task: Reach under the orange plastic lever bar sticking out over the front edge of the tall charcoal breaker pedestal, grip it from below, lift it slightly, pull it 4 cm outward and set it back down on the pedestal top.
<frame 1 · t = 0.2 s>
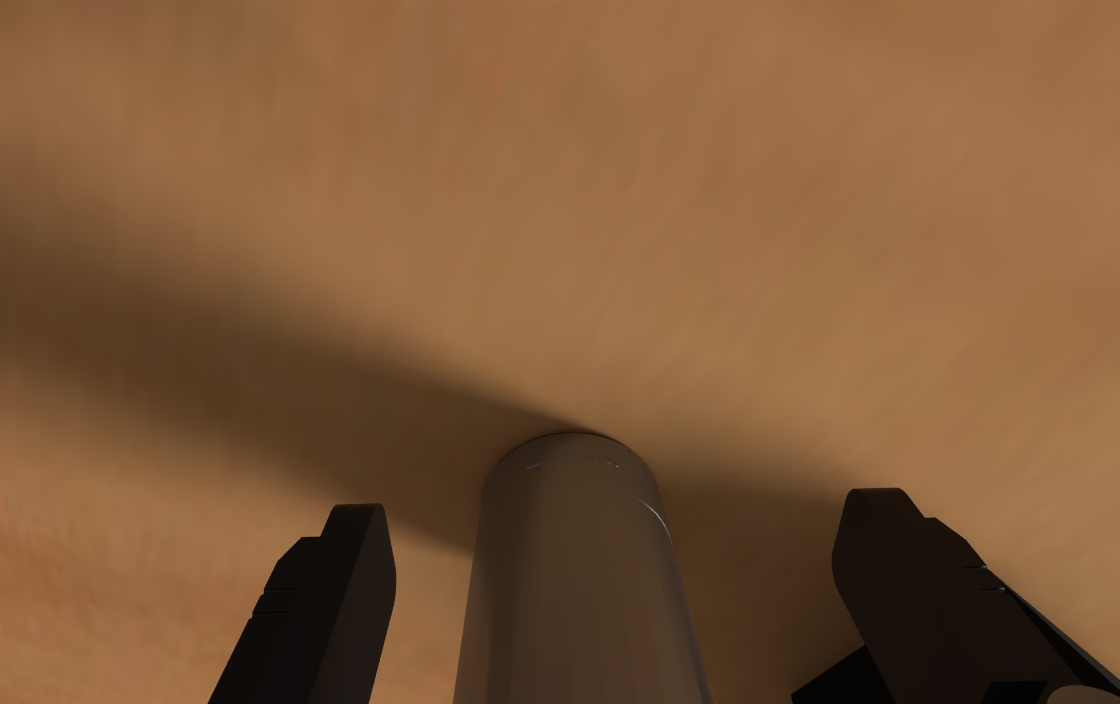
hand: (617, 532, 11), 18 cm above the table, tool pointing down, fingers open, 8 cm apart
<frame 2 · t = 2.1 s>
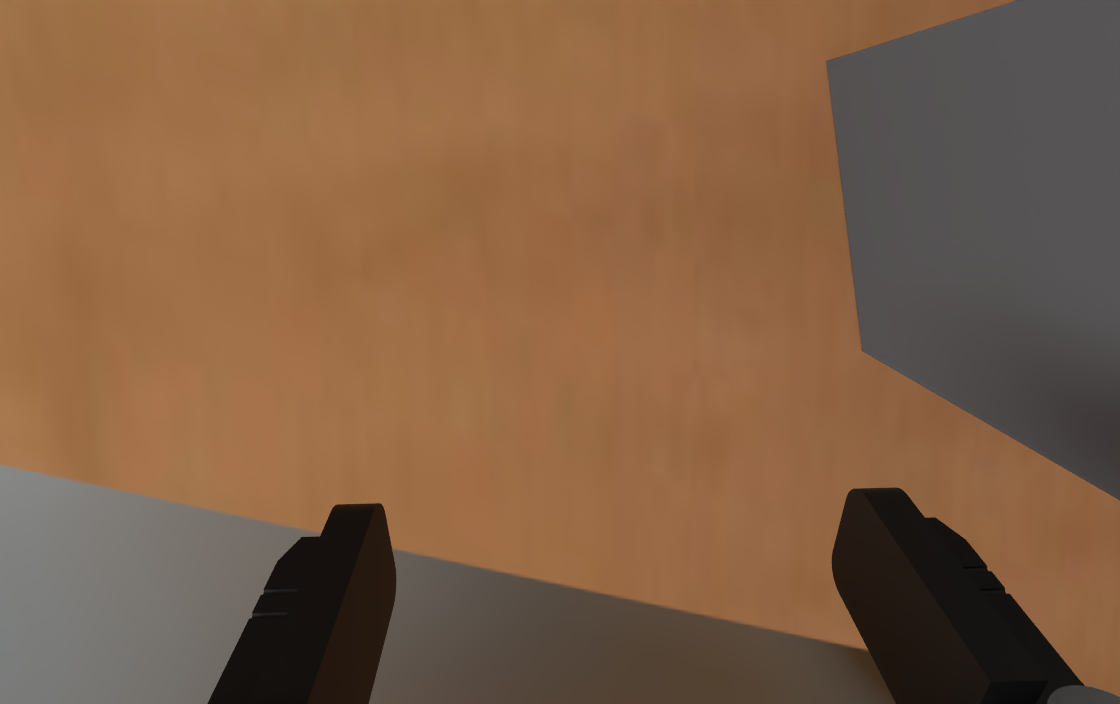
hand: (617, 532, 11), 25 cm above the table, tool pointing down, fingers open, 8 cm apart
breaker pedestal: (990, 176, 34), on the table
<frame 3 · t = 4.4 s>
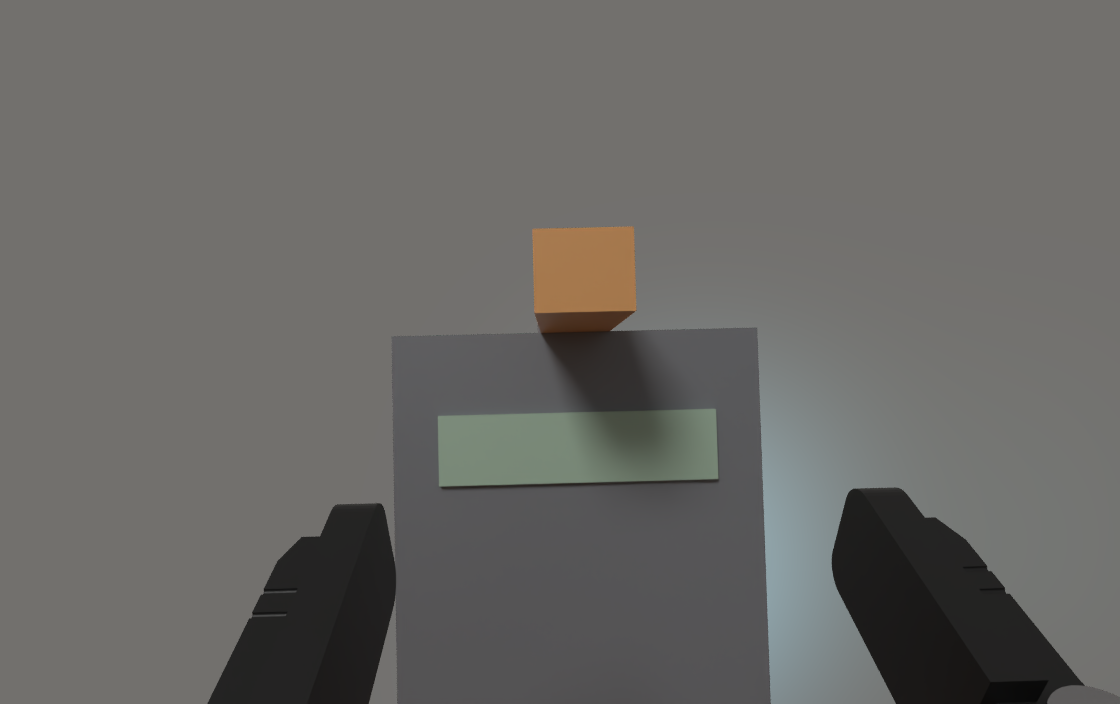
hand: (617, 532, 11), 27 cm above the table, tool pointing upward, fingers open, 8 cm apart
lever bar: (571, 339, 33), point 32 cm above the table
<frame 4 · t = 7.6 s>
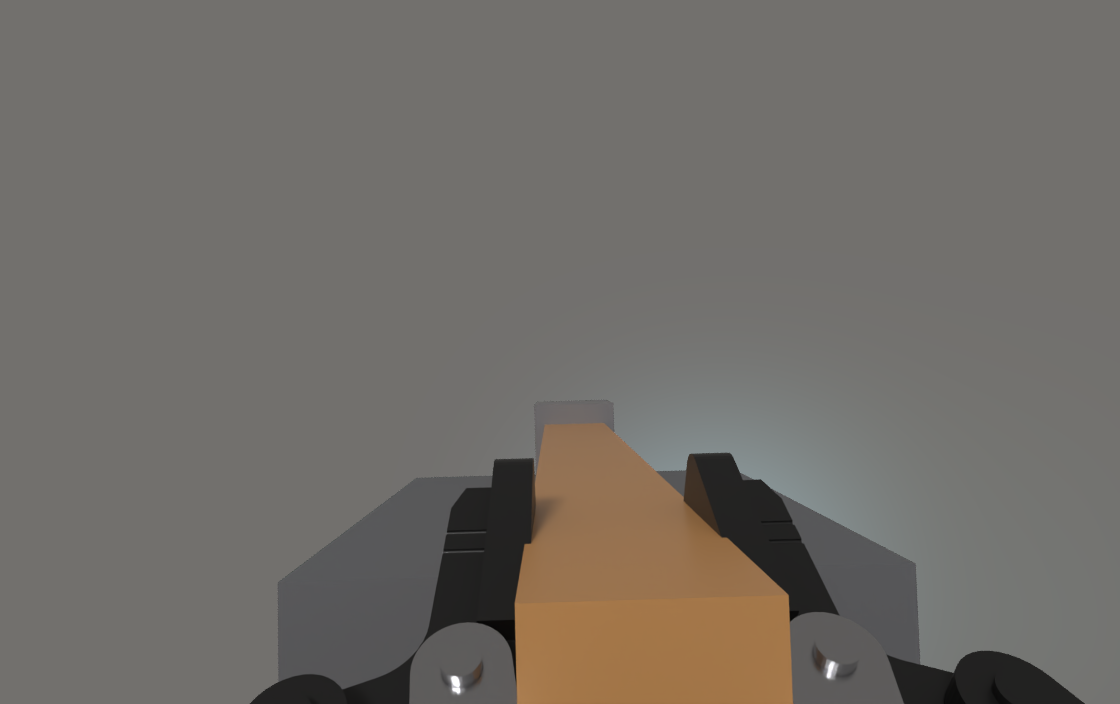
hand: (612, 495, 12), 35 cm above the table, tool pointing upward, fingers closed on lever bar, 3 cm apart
lever bar: (586, 521, 21), point 32 cm above the table, touching breaker pedestal, gripper
when the fingers open (36 cm above the table, at t = 10.1 s): lever bar stays where it is, resting on breaker pedestal.
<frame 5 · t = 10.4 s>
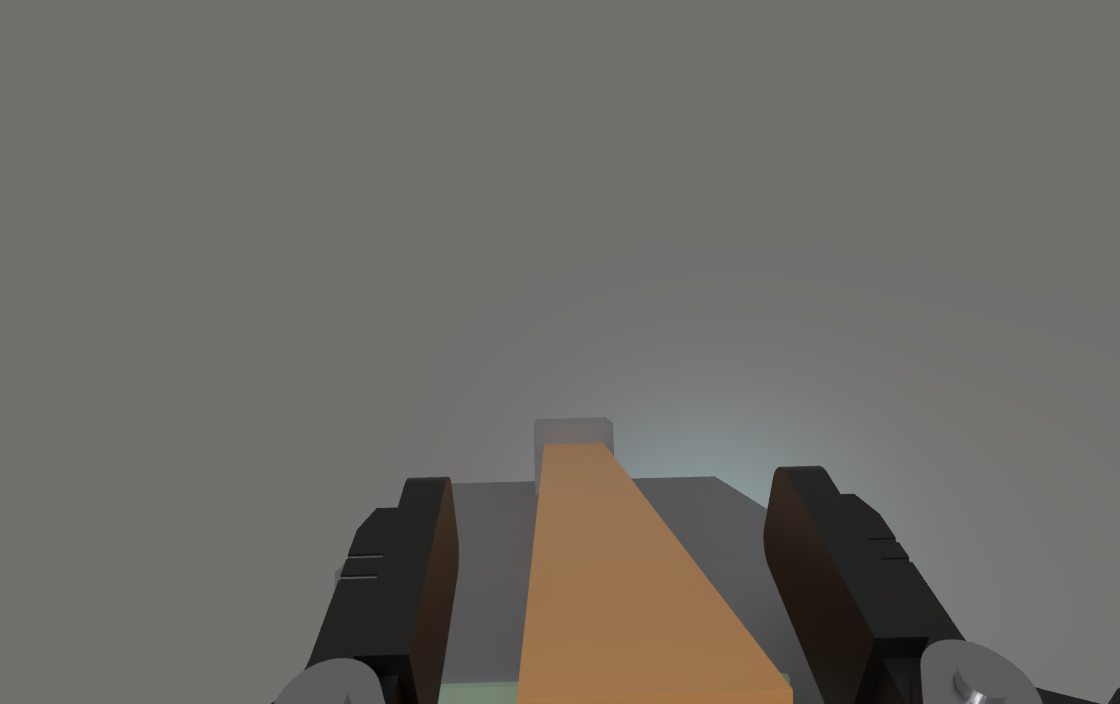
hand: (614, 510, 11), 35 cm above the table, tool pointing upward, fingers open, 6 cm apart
lever bar: (586, 551, 21), point 32 cm above the table, touching breaker pedestal
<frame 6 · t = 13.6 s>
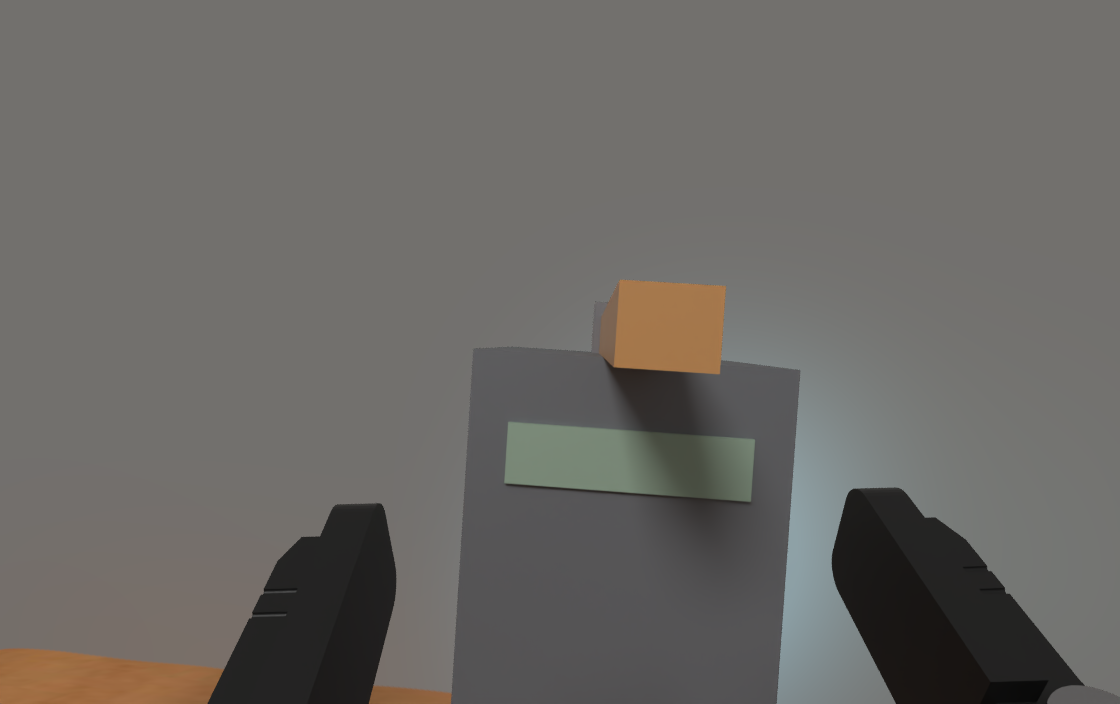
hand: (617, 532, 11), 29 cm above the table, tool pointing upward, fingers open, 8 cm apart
lever bar: (631, 358, 32), point 32 cm above the table, touching breaker pedestal
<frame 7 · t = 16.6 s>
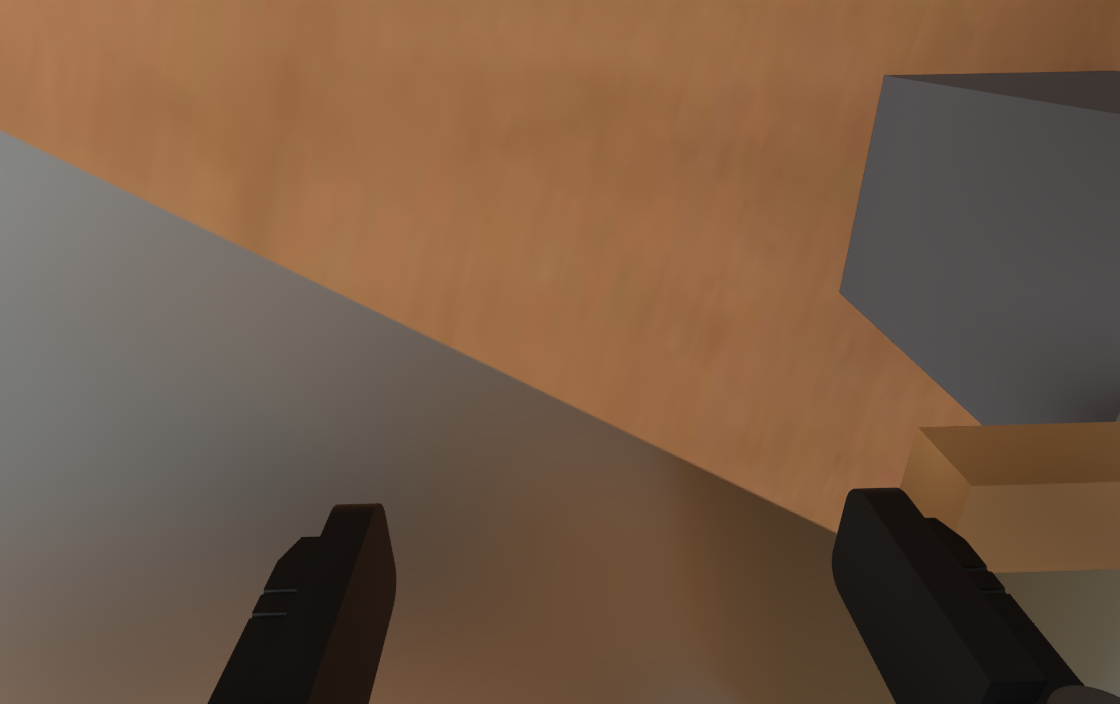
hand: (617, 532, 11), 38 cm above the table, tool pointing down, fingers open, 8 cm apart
breaker pedestal: (966, 190, 47), on the table
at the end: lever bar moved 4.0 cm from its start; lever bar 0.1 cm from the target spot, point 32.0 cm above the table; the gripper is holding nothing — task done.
